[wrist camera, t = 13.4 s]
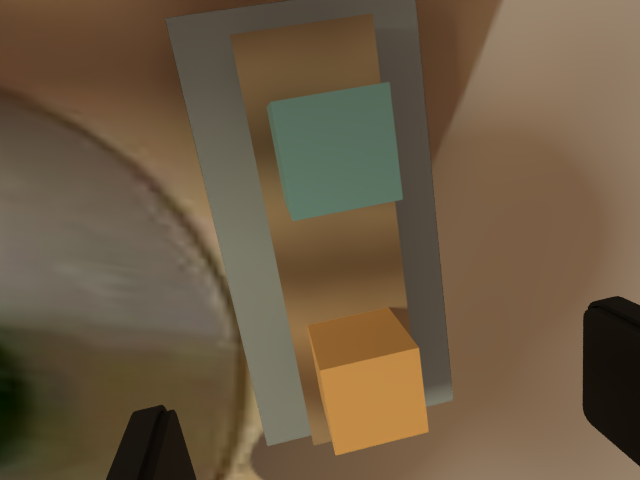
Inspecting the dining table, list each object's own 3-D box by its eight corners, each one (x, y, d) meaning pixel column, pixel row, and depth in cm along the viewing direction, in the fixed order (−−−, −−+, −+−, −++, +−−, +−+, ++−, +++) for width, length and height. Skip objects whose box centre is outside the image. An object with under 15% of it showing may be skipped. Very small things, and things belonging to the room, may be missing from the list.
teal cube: (266, 107, 20) (269, 102, 16) (360, 91, 20) (389, 81, 16) (284, 202, 21) (292, 221, 17) (373, 185, 22) (403, 199, 17)
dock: (178, 34, 25) (164, 18, 22) (390, 3, 27) (413, -18, 23) (265, 408, 32) (267, 446, 29) (430, 369, 34) (453, 400, 30)
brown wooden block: (233, 48, 22) (229, 34, 19) (355, 29, 23) (372, 13, 20) (306, 407, 28) (313, 445, 25) (401, 385, 29) (420, 418, 26)
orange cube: (307, 325, 23) (319, 370, 19) (388, 307, 23) (418, 347, 19) (321, 397, 24) (335, 455, 20) (398, 378, 25) (428, 431, 20)
